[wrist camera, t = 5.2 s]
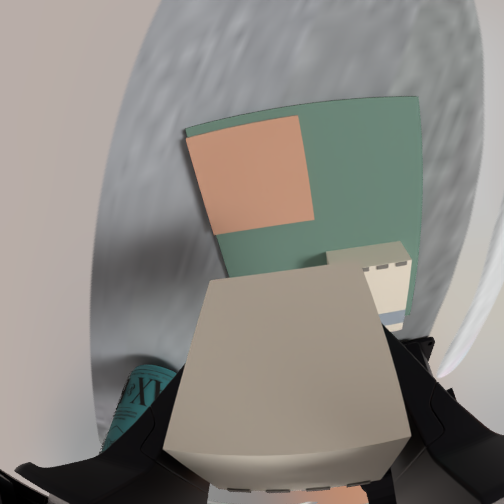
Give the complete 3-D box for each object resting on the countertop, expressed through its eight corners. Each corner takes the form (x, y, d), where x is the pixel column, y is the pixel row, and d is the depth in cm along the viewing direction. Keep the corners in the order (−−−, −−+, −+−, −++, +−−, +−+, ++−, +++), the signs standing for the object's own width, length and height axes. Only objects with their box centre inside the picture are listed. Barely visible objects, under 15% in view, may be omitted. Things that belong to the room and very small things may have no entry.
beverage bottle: (208, 377, 27) (171, 569, 10) (170, 393, 30) (130, 551, 13) (156, 342, 25) (89, 550, 8) (123, 362, 28) (64, 529, 11)
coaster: (313, 216, 17) (314, 219, 17) (215, 231, 18) (214, 234, 18) (297, 114, 14) (297, 115, 14) (187, 137, 15) (185, 138, 15)
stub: (357, 340, 11) (380, 481, 6) (238, 353, 12) (218, 490, 7) (358, 260, 9) (411, 439, 4) (210, 280, 10) (161, 451, 5)
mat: (408, 311, 21) (409, 314, 21) (249, 333, 23) (248, 337, 23) (415, 96, 13) (418, 96, 13) (187, 127, 15) (185, 128, 15)
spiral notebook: (394, 308, 20) (402, 330, 18) (330, 319, 21) (334, 341, 19) (400, 240, 17) (412, 260, 15) (326, 251, 18) (330, 273, 16)
